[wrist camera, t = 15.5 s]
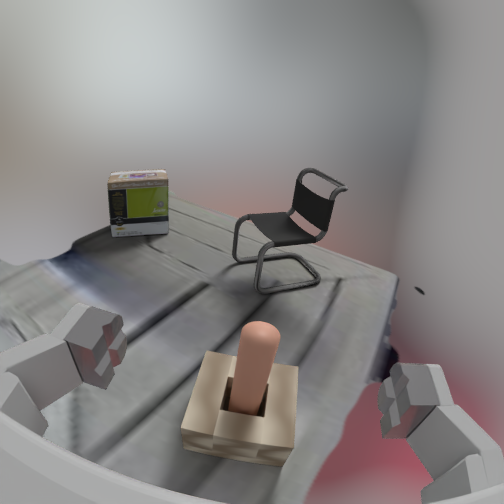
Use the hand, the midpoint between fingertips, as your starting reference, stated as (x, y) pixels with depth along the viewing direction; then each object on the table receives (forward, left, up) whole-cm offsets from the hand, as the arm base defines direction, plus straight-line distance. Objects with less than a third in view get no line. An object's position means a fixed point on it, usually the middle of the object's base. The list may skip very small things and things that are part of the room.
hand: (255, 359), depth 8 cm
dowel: (0, +15, -28) cm, 32 cm away
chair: (+2, +52, -30) cm, 60 cm away
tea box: (-35, +62, -30) cm, 77 cm away
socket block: (0, +15, -30) cm, 34 cm away
